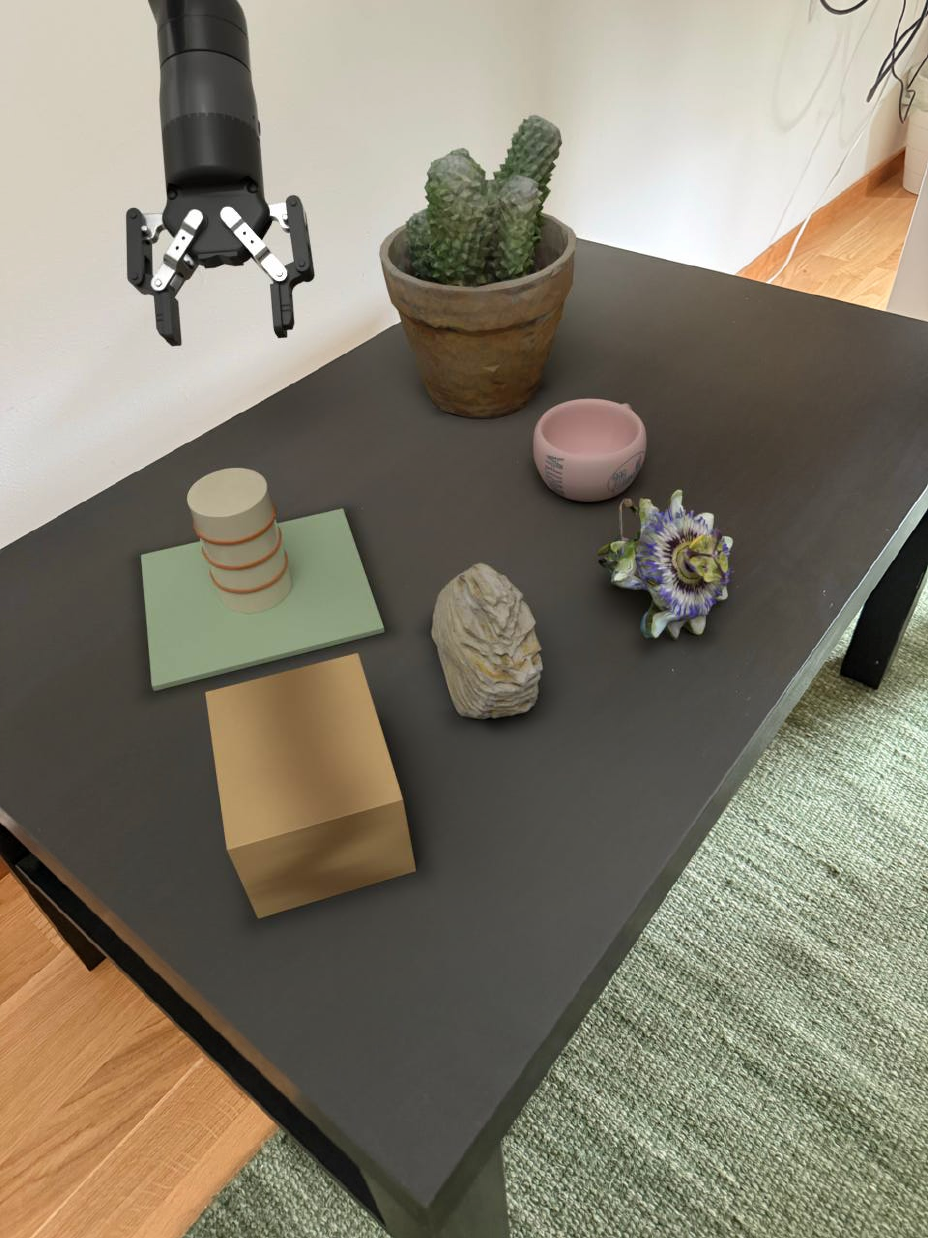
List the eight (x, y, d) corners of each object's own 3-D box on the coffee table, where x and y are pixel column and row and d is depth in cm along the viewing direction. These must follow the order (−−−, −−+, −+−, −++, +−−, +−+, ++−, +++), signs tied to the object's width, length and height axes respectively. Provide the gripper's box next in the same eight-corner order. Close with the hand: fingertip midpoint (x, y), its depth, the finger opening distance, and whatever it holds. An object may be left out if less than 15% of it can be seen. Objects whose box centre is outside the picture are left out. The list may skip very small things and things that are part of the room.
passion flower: (684, 674, 75) (681, 655, 64) (570, 608, 78) (548, 579, 67) (756, 555, 75) (766, 516, 64) (639, 494, 79) (629, 446, 67)
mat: (153, 691, 70) (151, 686, 70) (142, 559, 81) (140, 554, 81) (385, 632, 73) (384, 627, 73) (343, 513, 84) (343, 507, 84)
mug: (604, 529, 80) (607, 473, 76) (511, 490, 85) (510, 435, 81) (673, 461, 87) (680, 406, 82) (584, 428, 91) (586, 374, 87)
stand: (258, 919, 56) (226, 849, 51) (234, 766, 65) (205, 691, 59) (416, 871, 58) (403, 799, 52) (373, 728, 66) (358, 652, 61)
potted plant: (517, 459, 88) (511, 189, 71) (360, 411, 96) (319, 155, 78) (601, 369, 99) (615, 114, 81) (454, 332, 106) (437, 91, 89)
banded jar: (222, 623, 74) (188, 525, 67) (213, 573, 78) (181, 476, 71) (299, 603, 75) (274, 506, 68) (287, 555, 79) (262, 459, 72)
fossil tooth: (492, 615, 75) (563, 743, 64) (417, 633, 74) (477, 766, 63) (488, 493, 68) (568, 613, 57) (405, 511, 67) (471, 637, 56)
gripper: (102, 116, 69) (119, 332, 70) (291, 100, 69) (308, 317, 69) (138, 164, 77) (154, 359, 77) (309, 150, 77) (324, 346, 77)
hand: (227, 339), depth 73 cm, fingers open, 8 cm apart
